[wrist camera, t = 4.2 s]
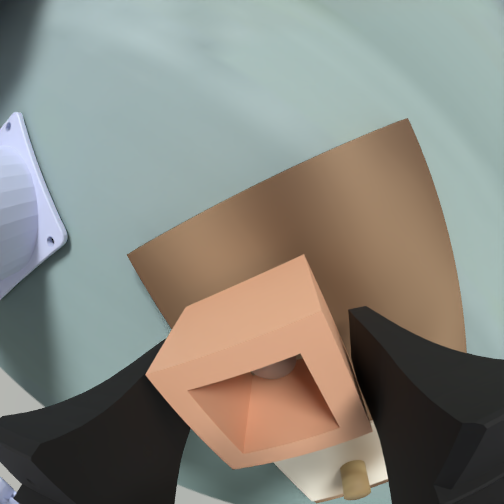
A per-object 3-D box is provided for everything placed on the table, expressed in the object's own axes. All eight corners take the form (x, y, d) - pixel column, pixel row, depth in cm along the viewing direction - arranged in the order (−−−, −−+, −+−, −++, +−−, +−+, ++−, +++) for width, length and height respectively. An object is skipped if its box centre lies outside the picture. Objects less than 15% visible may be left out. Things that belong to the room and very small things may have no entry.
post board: (315, 493, 17) (317, 528, 13) (137, 248, 12) (94, 276, 9) (459, 436, 14) (475, 467, 11) (397, 121, 10) (440, 107, 6)
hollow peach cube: (244, 394, 12) (232, 469, 8) (185, 306, 10) (145, 374, 7) (348, 356, 11) (373, 431, 7) (304, 254, 10) (321, 310, 6)
